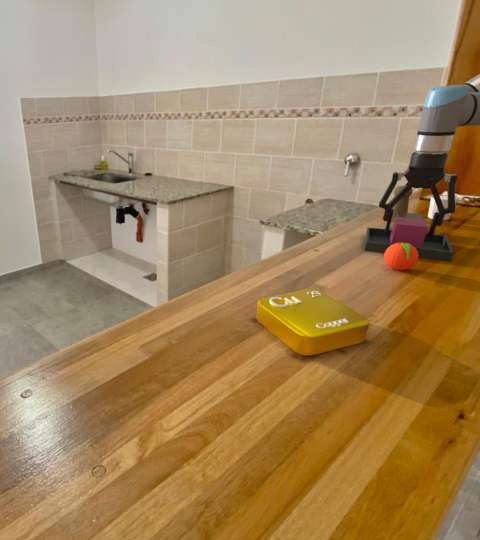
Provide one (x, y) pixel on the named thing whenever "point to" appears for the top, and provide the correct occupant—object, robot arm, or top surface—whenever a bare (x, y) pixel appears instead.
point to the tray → (430, 248)
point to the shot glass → (434, 208)
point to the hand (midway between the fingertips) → (407, 234)
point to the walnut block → (409, 215)
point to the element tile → (311, 321)
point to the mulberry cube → (409, 231)
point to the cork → (401, 202)
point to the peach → (401, 256)
